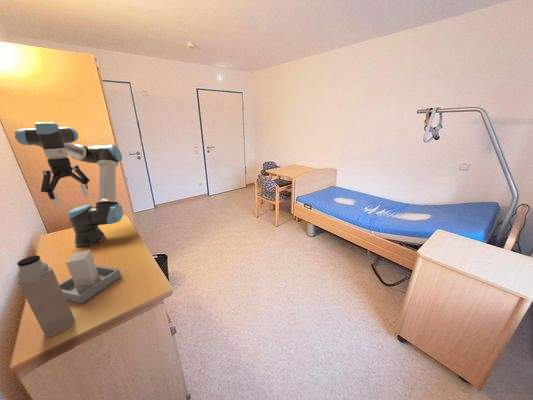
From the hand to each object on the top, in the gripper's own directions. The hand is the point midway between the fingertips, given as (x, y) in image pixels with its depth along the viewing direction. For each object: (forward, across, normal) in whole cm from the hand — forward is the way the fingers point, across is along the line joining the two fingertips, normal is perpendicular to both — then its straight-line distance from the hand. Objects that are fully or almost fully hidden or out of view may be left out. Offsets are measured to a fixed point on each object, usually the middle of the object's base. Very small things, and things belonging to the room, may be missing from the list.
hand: (72, 200), depth 107 cm
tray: (+33, -19, -22) cm, 44 cm away
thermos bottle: (+33, -38, -32) cm, 59 cm away
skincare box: (+32, -19, -22) cm, 44 cm away
